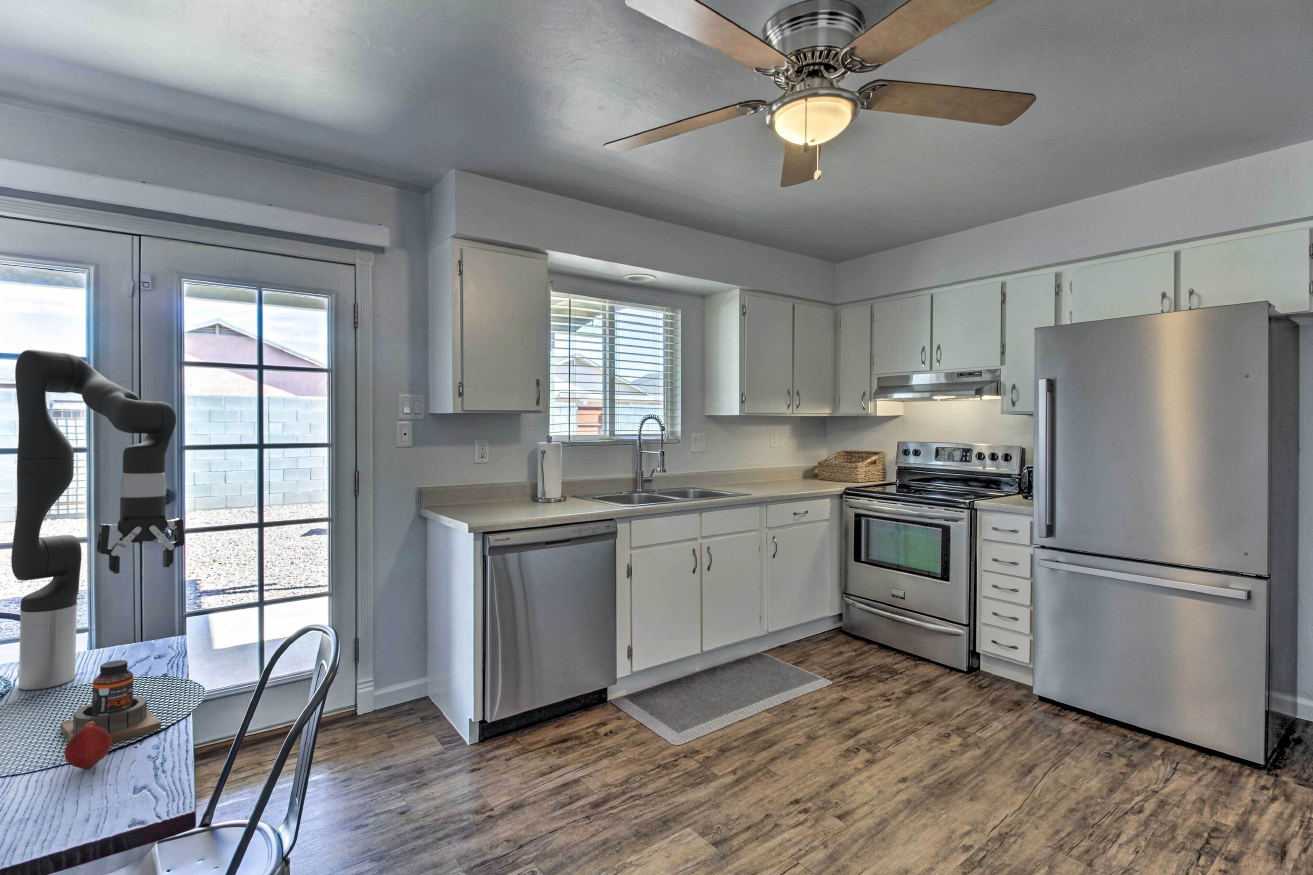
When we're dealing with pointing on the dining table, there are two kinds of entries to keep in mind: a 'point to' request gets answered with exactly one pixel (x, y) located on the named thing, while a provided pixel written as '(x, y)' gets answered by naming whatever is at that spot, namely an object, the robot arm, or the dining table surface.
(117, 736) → the ring holder
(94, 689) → the supplement bottle
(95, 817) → the dining table surface
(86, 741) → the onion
